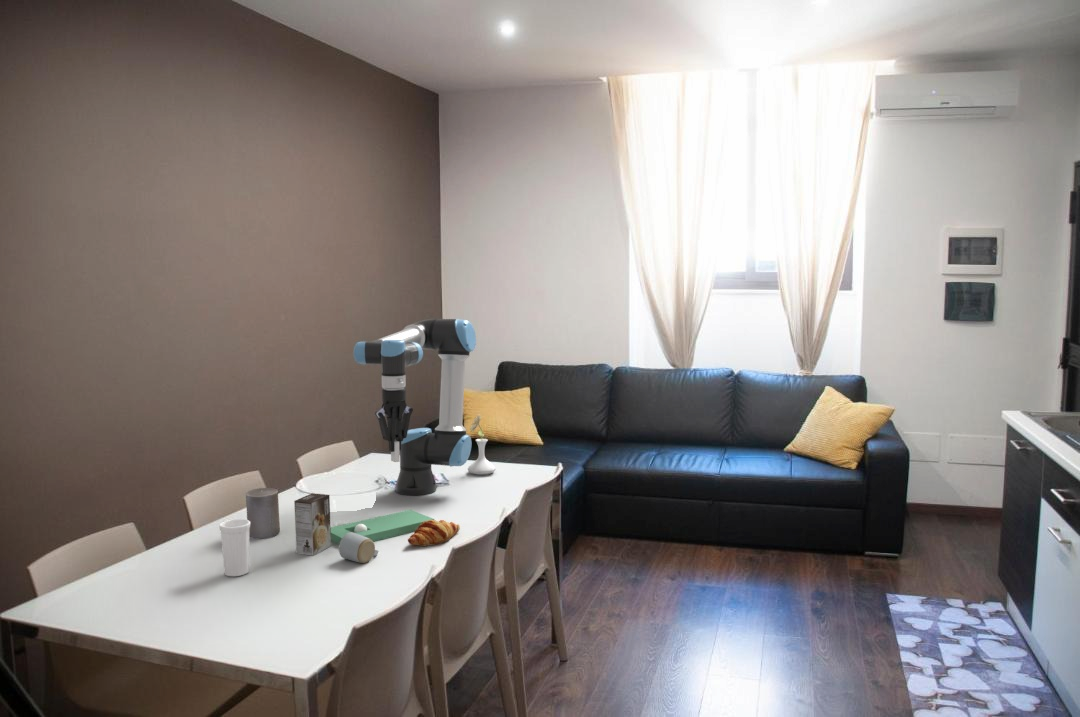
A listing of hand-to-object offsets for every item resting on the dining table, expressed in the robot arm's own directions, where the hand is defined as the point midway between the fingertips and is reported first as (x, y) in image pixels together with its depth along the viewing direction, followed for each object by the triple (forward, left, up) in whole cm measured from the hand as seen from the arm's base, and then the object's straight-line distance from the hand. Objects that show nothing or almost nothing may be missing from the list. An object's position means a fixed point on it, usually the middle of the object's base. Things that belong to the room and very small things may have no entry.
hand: (395, 461), depth 274 cm
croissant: (-2, +18, -22) cm, 29 cm away
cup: (+55, +6, -22) cm, 60 cm away
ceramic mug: (+24, +18, -22) cm, 37 cm away
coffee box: (+30, +2, -22) cm, 37 cm away
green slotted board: (+6, 0, -22) cm, 23 cm away
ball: (+13, 0, -20) cm, 24 cm away
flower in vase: (-64, -38, -22) cm, 78 cm away
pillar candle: (+35, -22, -22) cm, 47 cm away
